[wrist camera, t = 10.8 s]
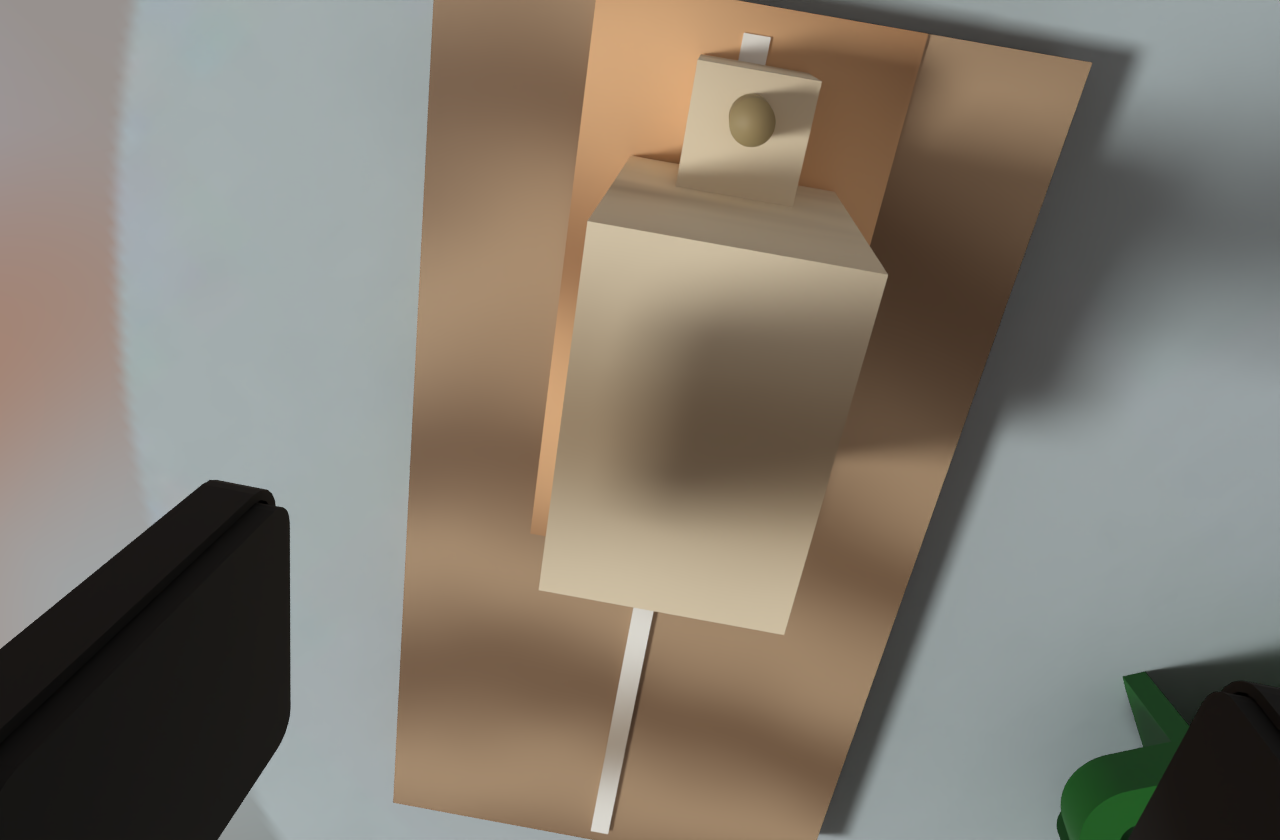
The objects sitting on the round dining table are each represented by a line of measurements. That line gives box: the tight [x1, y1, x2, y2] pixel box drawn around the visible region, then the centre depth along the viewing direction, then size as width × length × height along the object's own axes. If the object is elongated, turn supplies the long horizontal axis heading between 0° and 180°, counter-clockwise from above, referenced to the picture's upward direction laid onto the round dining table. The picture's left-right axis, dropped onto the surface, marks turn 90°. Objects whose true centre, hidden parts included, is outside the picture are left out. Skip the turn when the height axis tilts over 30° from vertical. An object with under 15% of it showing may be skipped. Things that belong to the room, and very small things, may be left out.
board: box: [393, 0, 1092, 840], centre depth 21 cm, size 22×12×2 cm, turn 171°
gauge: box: [539, 54, 888, 635], centre depth 15 cm, size 10×4×6 cm, turn 171°
